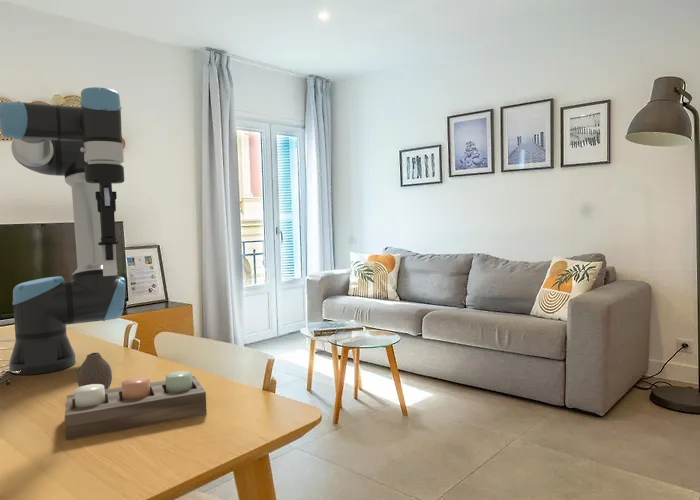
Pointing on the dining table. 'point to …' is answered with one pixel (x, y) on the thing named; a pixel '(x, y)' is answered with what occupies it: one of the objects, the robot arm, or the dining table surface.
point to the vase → (94, 371)
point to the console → (133, 410)
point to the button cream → (89, 395)
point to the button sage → (178, 381)
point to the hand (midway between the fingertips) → (110, 275)
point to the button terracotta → (135, 388)
